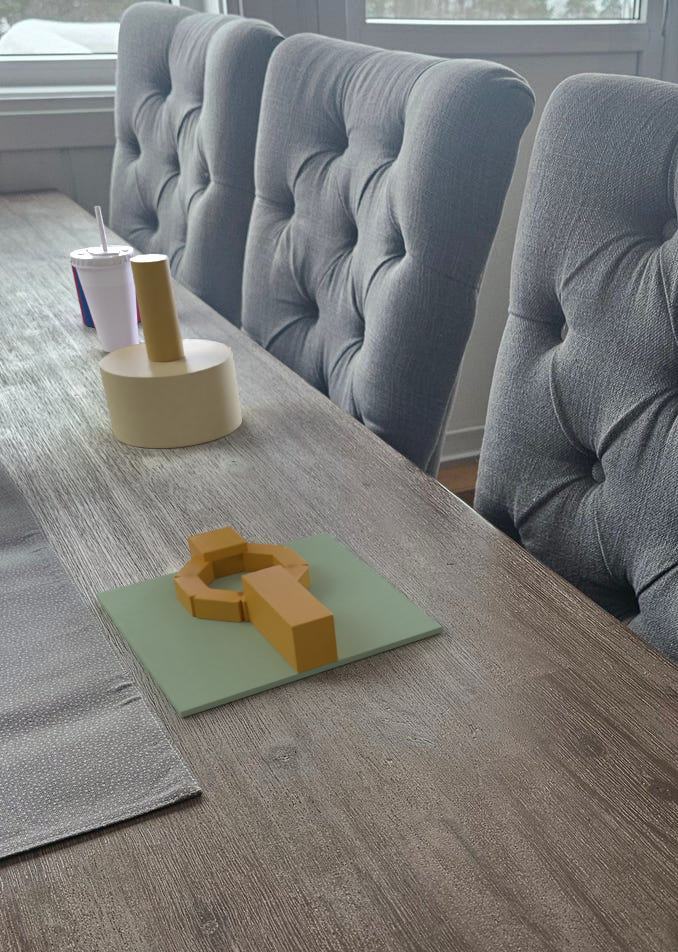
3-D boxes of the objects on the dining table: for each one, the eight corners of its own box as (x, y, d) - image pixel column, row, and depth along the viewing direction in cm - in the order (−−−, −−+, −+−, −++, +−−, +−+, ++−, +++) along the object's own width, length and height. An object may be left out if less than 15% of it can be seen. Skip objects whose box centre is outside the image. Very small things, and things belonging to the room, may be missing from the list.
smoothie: (118, 359, 115) (89, 214, 107) (76, 350, 118) (45, 208, 110) (164, 343, 119) (140, 203, 112) (123, 335, 122) (96, 198, 115)
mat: (181, 718, 59) (180, 712, 59) (96, 599, 71) (95, 593, 71) (442, 632, 66) (442, 626, 66) (326, 536, 78) (326, 531, 78)
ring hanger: (156, 573, 73) (147, 531, 71) (268, 543, 76) (262, 502, 75) (253, 688, 61) (245, 641, 59) (380, 647, 64) (376, 601, 63)
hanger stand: (135, 458, 91) (100, 281, 84) (97, 420, 99) (62, 255, 92) (261, 430, 96) (238, 260, 89) (215, 396, 104) (191, 237, 97)
